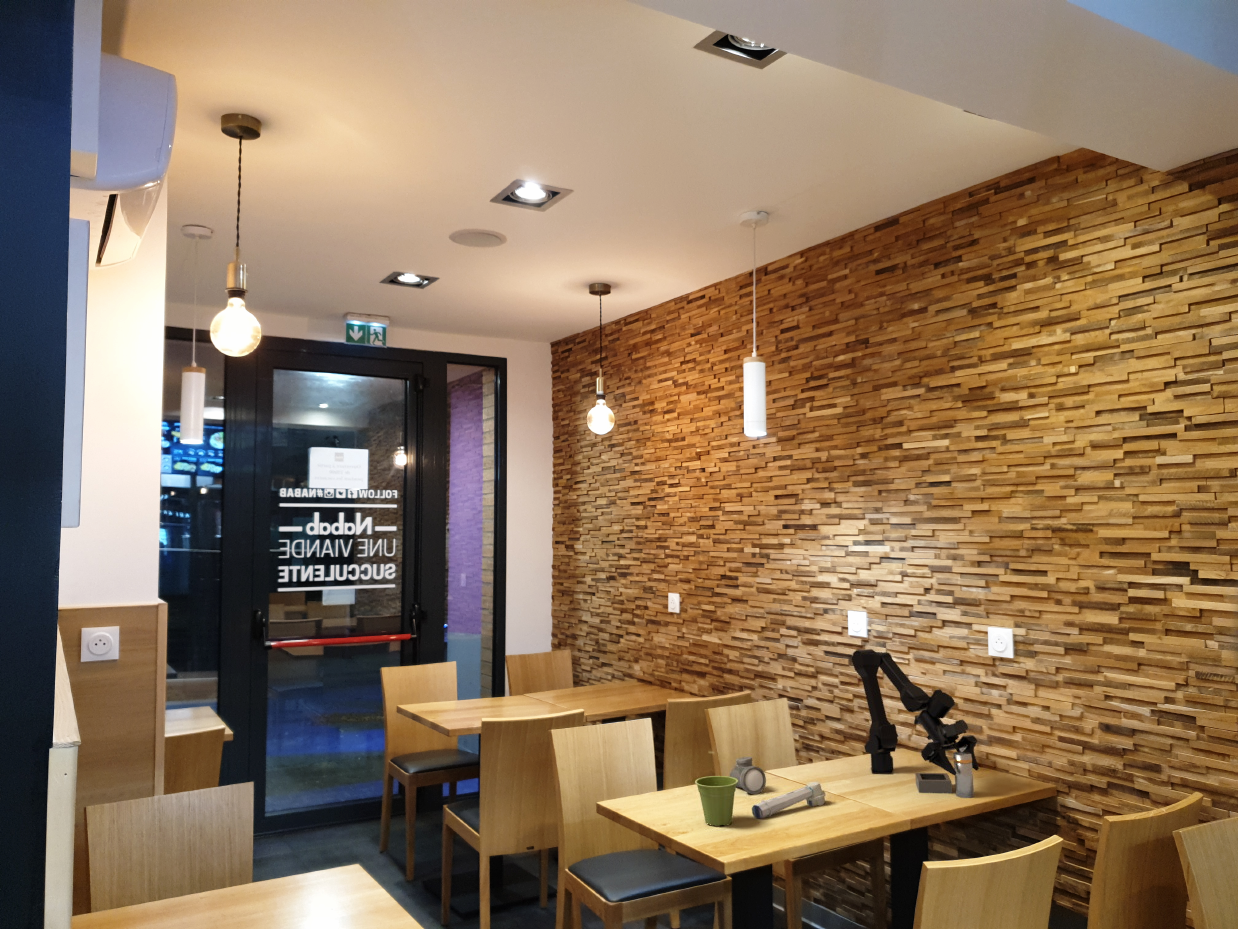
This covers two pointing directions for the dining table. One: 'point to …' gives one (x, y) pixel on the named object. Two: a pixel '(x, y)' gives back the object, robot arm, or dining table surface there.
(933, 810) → the dining table surface
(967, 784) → the tube
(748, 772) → the pipe fitting
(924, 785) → the collar
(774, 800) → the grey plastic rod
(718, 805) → the plant pot
